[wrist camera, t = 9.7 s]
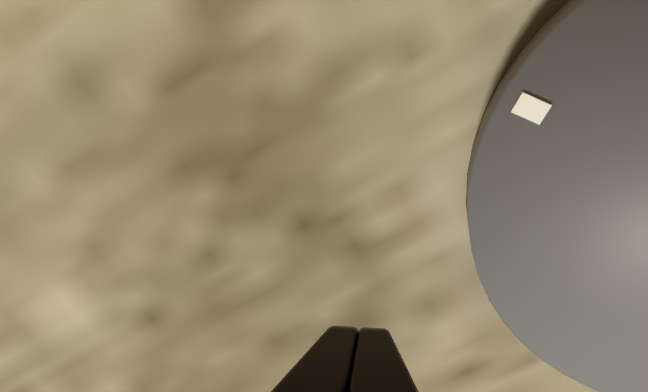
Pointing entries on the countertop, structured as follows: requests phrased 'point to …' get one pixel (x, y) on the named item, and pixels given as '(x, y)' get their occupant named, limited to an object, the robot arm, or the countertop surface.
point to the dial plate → (570, 194)
